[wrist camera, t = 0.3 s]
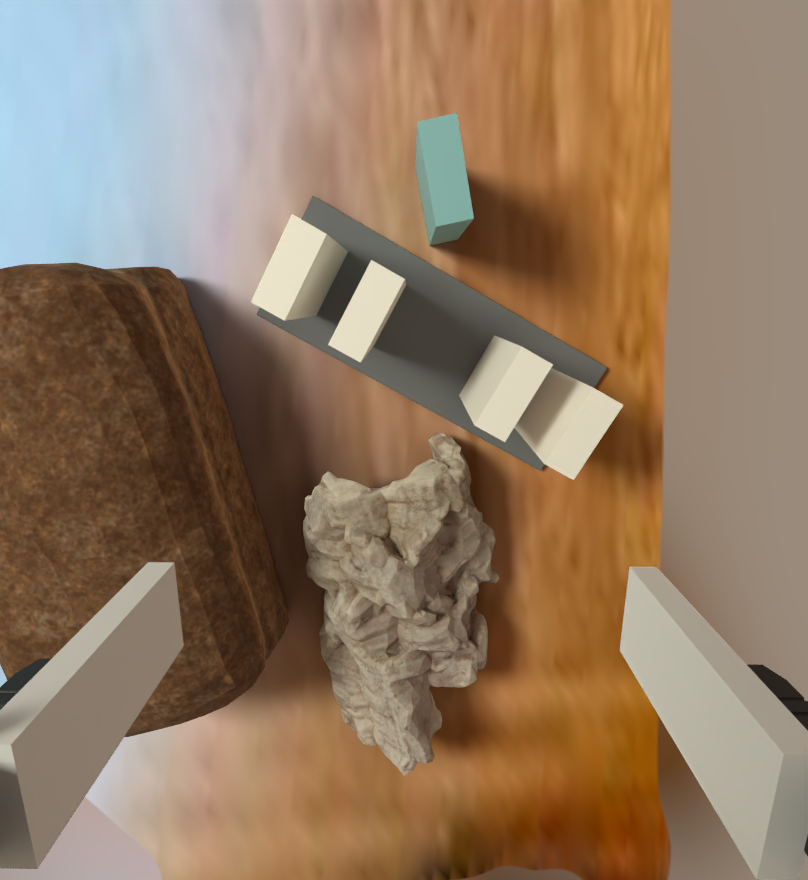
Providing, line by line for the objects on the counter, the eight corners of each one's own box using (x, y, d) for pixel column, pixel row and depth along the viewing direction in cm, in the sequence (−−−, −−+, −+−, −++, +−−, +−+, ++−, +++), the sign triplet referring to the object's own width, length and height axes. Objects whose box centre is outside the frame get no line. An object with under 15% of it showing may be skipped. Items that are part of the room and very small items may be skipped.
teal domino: (429, 245, 38) (436, 226, 28) (415, 169, 37) (417, 121, 27) (457, 239, 38) (473, 218, 28) (444, 162, 37) (456, 112, 27)
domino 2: (348, 333, 39) (327, 344, 29) (381, 270, 38) (371, 259, 28) (372, 347, 39) (360, 362, 30) (406, 284, 38) (405, 279, 28)
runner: (257, 314, 39) (256, 314, 39) (313, 196, 37) (312, 195, 37) (539, 469, 42) (540, 470, 41) (605, 367, 40) (607, 367, 39)
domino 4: (512, 425, 41) (544, 463, 31) (548, 366, 39) (593, 387, 30) (534, 437, 41) (573, 480, 31) (571, 379, 40) (623, 405, 30)
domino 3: (458, 395, 40) (474, 425, 30) (494, 335, 39) (521, 346, 29) (482, 408, 40) (504, 442, 31) (517, 348, 39) (553, 364, 29)
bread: (115, 661, 47) (3, 796, 34) (-30, 305, 39) (-241, 307, 27) (304, 624, 46) (263, 750, 33) (192, 251, 38) (83, 227, 26)
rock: (529, 768, 41) (334, 789, 42) (507, 673, 49) (346, 692, 50) (497, 476, 32) (251, 511, 33) (478, 423, 41) (283, 452, 41)
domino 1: (290, 302, 39) (250, 302, 29) (322, 236, 37) (292, 213, 28) (316, 315, 39) (284, 320, 29) (348, 251, 38) (326, 233, 28)
